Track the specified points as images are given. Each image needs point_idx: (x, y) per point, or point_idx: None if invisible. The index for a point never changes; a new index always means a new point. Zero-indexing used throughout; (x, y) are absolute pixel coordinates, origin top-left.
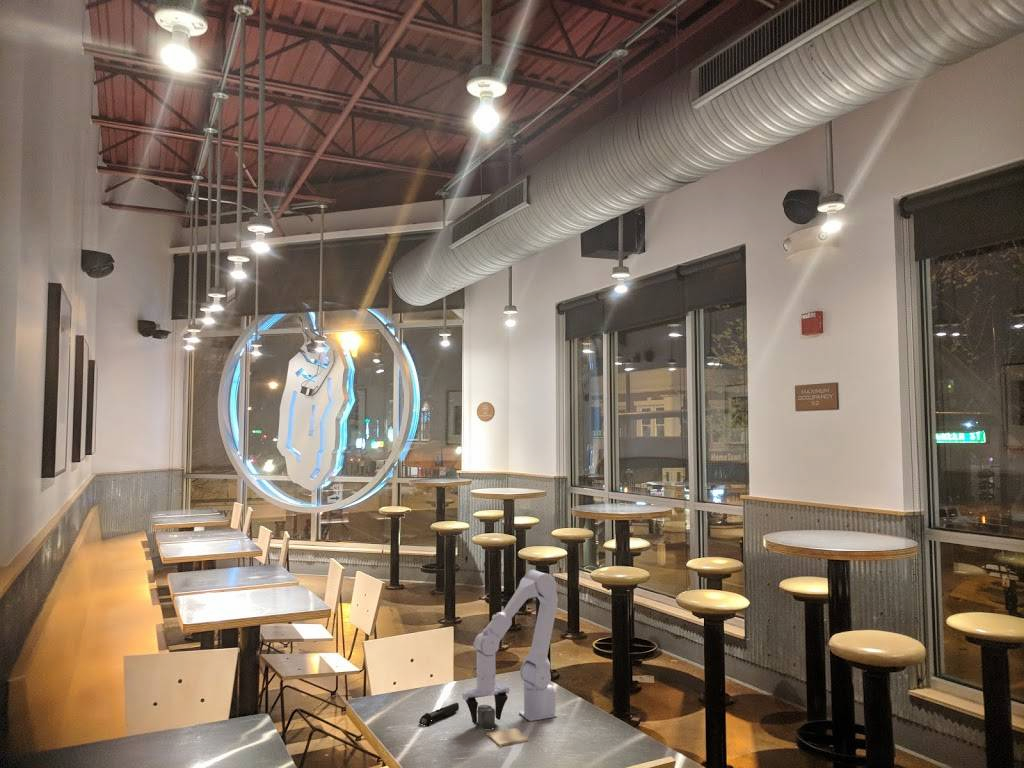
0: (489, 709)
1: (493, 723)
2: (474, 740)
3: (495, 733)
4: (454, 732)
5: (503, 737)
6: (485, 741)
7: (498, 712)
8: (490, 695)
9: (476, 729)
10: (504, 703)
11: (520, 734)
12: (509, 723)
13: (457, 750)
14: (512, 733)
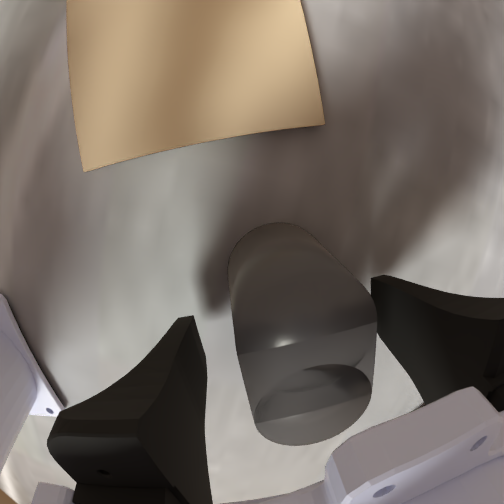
0: (291, 354)
1: (250, 246)
2: (412, 78)
3: (265, 95)
4: (469, 239)
5: (223, 9)
6: (352, 32)
7: (187, 350)
8: (437, 403)
9: (361, 252)
10: (109, 389)
11: (83, 42)
12: (115, 303)
13: (483, 18)
14: (131, 65)
